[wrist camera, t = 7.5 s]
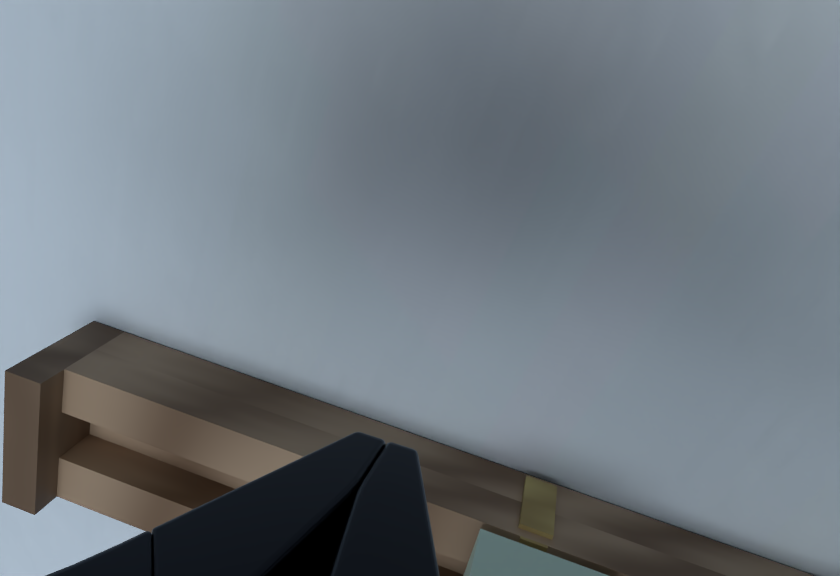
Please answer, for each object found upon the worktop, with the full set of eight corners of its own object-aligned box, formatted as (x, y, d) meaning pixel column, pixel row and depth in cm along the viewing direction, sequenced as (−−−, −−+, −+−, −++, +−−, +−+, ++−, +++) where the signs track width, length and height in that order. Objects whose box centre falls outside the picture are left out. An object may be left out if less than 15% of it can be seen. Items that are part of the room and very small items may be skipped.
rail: (868, 590, 21) (927, 706, 17) (789, 707, 23) (828, 834, 19) (93, 316, 24) (5, 366, 20) (84, 441, 26) (2, 505, 22)
